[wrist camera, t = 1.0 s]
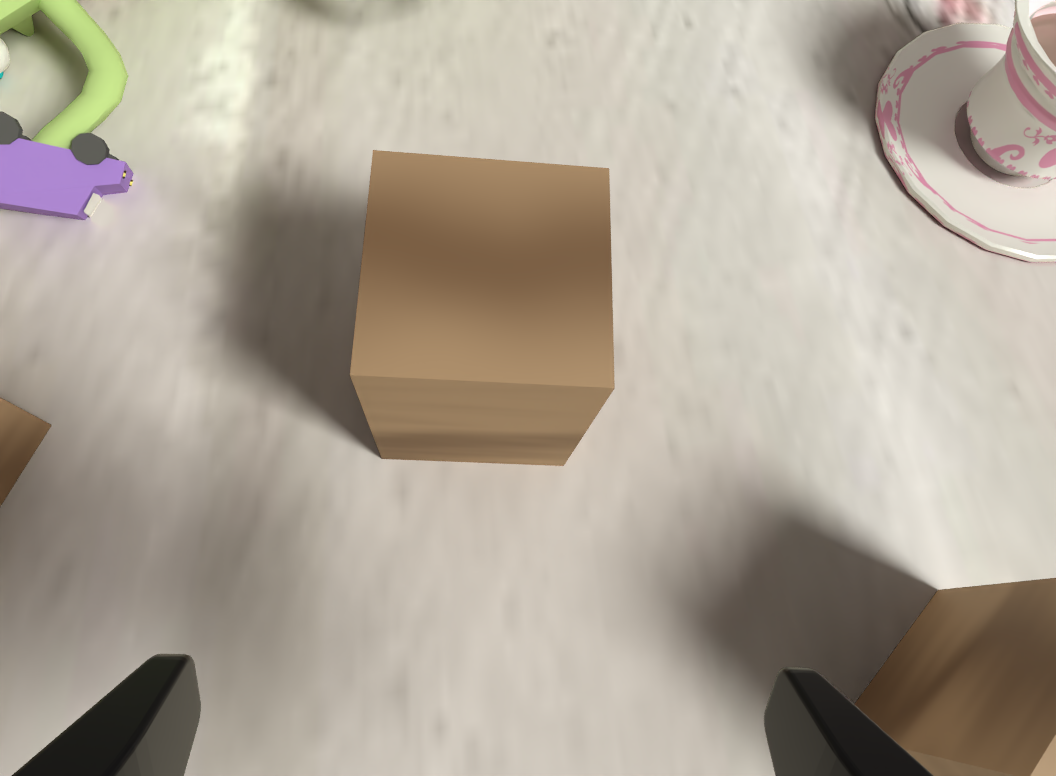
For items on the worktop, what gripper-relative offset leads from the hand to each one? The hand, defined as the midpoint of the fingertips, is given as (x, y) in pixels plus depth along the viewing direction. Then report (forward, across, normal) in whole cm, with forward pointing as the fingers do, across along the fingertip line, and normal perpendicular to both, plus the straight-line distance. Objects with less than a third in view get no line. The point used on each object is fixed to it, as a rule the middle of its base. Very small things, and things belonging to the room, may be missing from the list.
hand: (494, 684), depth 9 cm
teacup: (+25, -22, -5) cm, 34 cm away
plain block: (+16, 0, +4) cm, 16 cm away
